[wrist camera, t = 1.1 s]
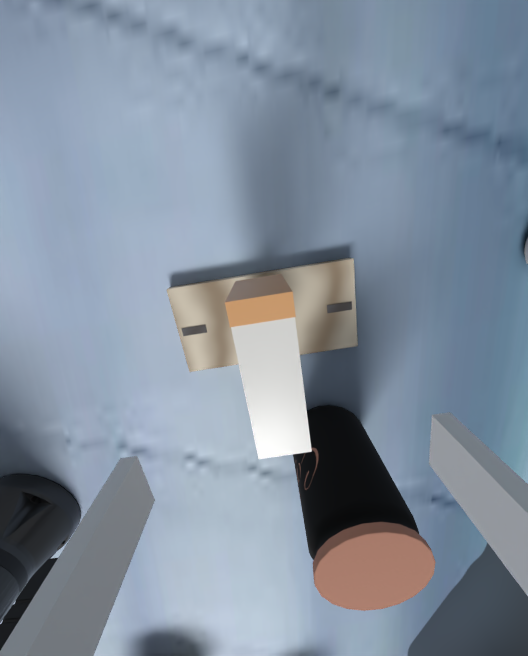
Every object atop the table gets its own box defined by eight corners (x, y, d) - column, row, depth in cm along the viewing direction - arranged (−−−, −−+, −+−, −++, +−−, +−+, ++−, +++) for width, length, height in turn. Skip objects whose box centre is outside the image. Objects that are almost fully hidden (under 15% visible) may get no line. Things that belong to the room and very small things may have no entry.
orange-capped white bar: (257, 382, 30) (257, 459, 20) (237, 276, 26) (224, 302, 16) (293, 376, 30) (312, 451, 20) (278, 269, 26) (292, 291, 16)
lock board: (192, 366, 36) (181, 388, 31) (170, 287, 32) (153, 296, 27) (353, 341, 35) (370, 359, 30) (349, 257, 32) (367, 261, 27)
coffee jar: (292, 400, 38) (321, 531, 21) (365, 402, 39) (451, 532, 22) (287, 458, 42) (307, 611, 25) (354, 459, 42) (419, 611, 25)
